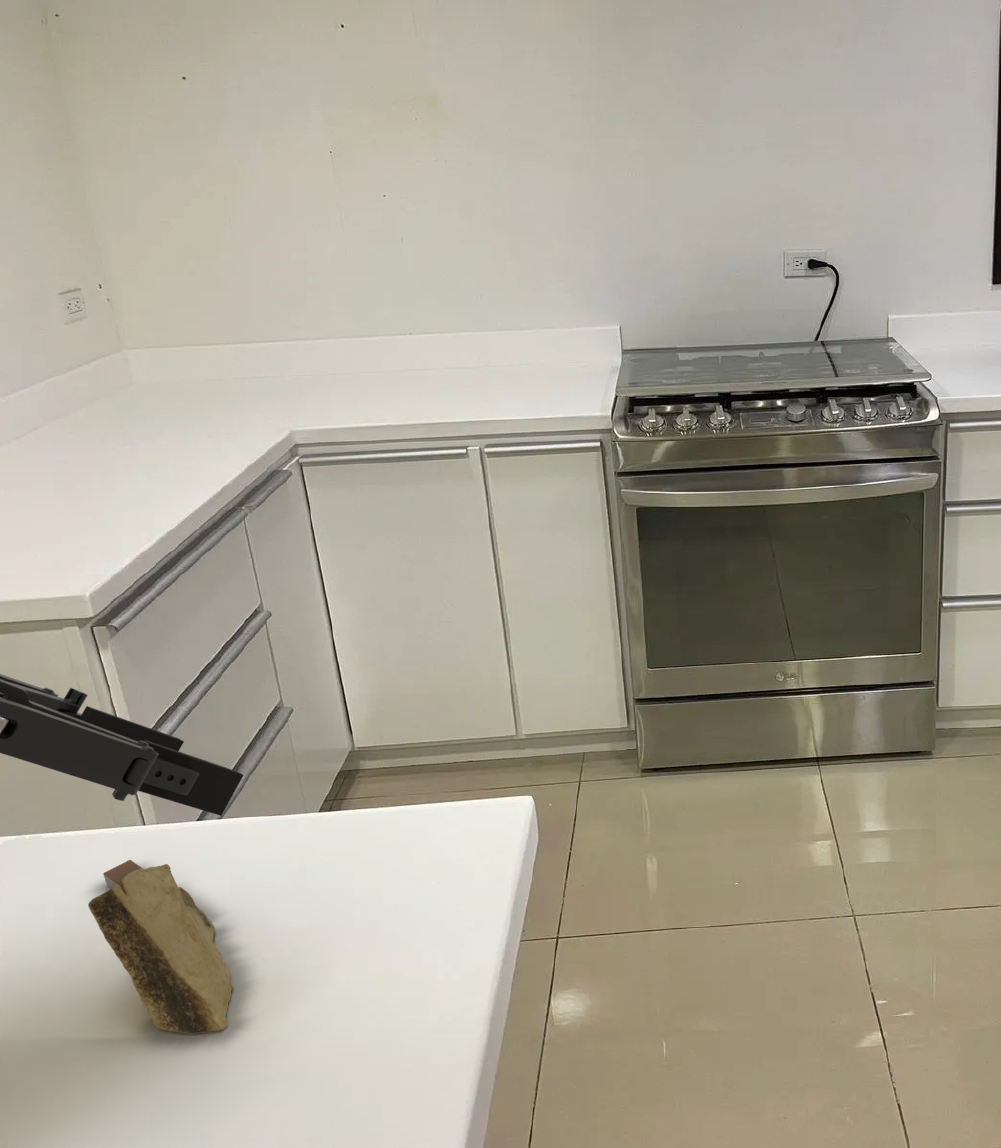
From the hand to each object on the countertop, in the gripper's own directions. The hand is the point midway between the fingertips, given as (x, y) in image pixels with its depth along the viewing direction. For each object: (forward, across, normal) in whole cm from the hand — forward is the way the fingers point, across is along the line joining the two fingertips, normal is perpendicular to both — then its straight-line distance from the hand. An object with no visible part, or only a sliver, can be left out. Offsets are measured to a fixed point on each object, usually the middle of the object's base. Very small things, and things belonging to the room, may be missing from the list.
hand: (198, 775), depth 71 cm
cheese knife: (+8, -10, -11) cm, 17 cm away
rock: (+7, +1, -12) cm, 14 cm away
